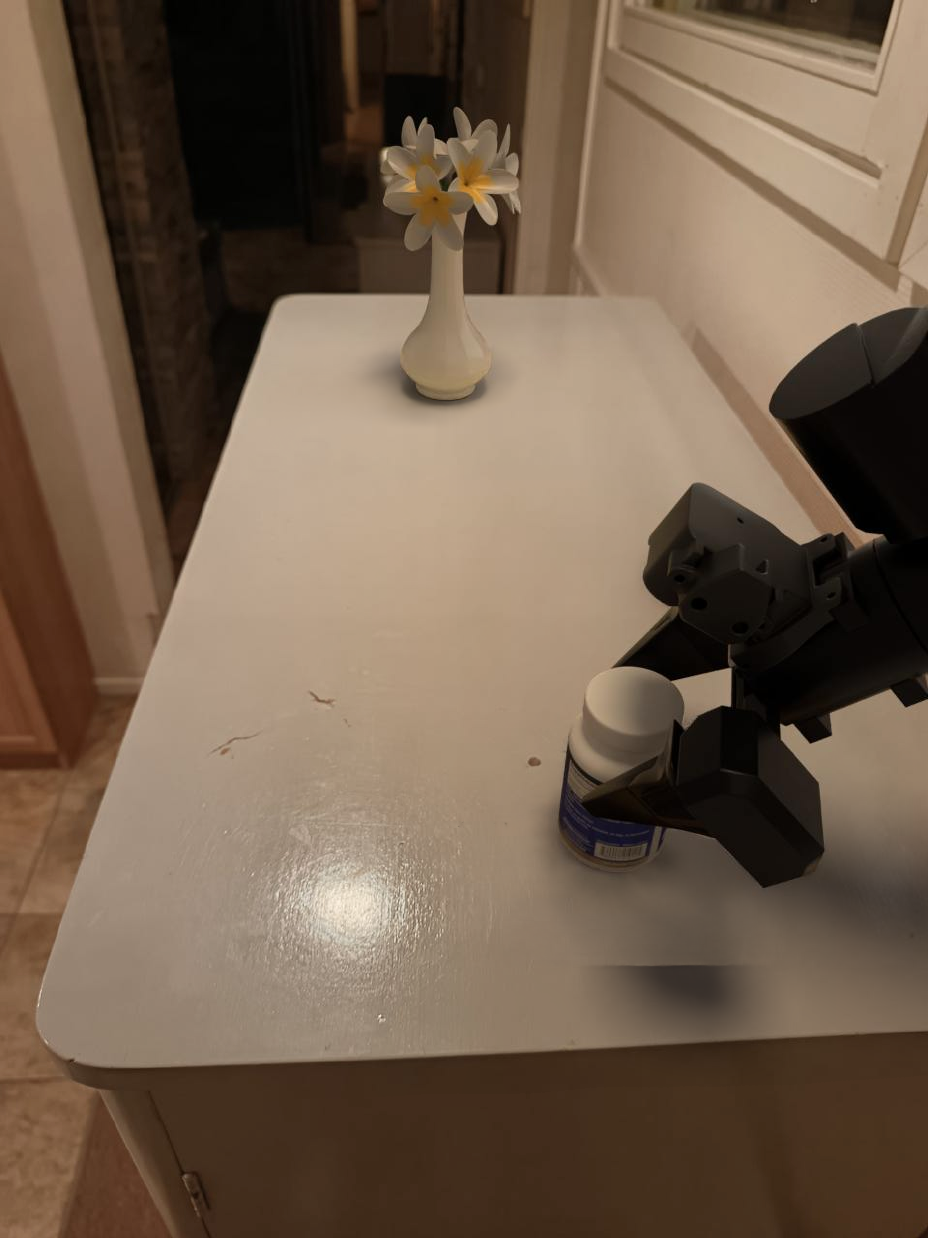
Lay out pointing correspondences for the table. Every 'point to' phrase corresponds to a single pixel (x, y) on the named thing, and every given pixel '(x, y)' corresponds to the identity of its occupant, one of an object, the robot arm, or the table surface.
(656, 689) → the pill bottle
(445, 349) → the flower vase
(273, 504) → the table surface
